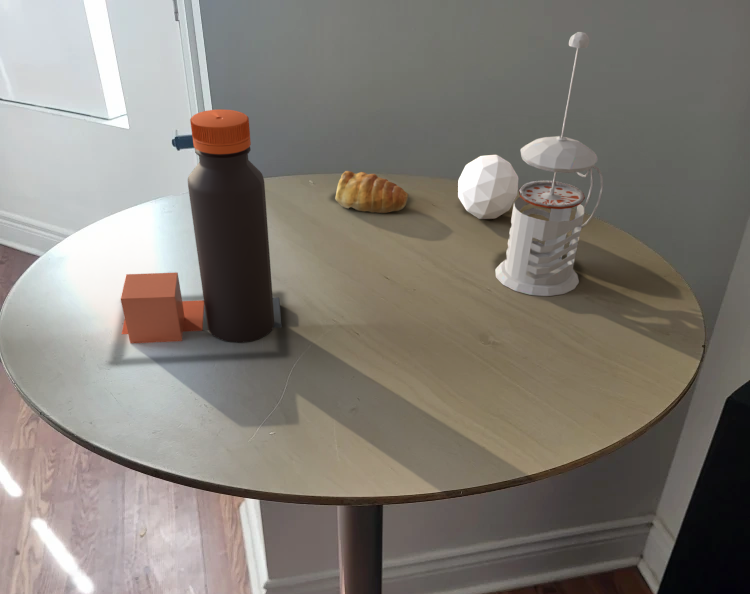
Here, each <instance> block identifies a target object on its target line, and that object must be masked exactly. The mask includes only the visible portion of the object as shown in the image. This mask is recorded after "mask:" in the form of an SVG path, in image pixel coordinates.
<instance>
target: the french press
mask: <svg viewBox="0 0 750 594" xmlns="http://www.w3.org/2000/svg"><path fill="white" fill-rule="evenodd" d="M589 45H590V37H589V36H588V34H587V33H586V32H583V31H577V32H575V33H574V34H572V35H571V36H570V38H569V41H568V46H569V47H571V48H576V51H575V56H574V62H573V69H572V72H571V79H570V84H569V90H568V95H567V96H568V97H567V102H566V107H565V112H564V118H563V124H562V129H561V134H560V135H557V136H544V137H540V138H536V139H534V140H533V141H531V142H529V143H528V144H525V145H524V146H522V147H521V148H520V156H521V159H522V161H524V162H525V163H526V164H527V165H528V166H531V167H533V168H536V169H538V170H543V171H547V172H551V173H554V175H553V180H549V179H548V180H545V179H544V180H536V181H535V180H534V181H530V182H526V183H523V185H521V187H519V188H518V194H519V197H518V198H516V199H515V200H514V202H513V205H512V213H511V219H510V223H511V226H510V227H509V237H508V240H507V248H506V253H505V256H506V257H505V259H504V260H503V261H501V262H500V264H499V265H498V266H497V267H496V268H495V271H494V272H495V278H496V279H497V280H498V281H499V283H501V285H503V286H504V287H507V288H509V289H511V290H513V291H514V292H517V293H522V294H525V295H530V296H542V297H553V296H558V295H564V294H567V293H569V292H572V291H573V290H575V289H576V287H577V286H578V284H579V283H580V280H579V275H578V273H577V272H576V271H575V269H574V265H575V260H576V254H577V250H578V247H579V246H578V245H579V241H580V237H581V232H582V229H583V228H584V227H585V226H586V225H588V223H589V222H590V221H591V220H592V219H593V217H594V216H595V214H596V212H597V210H598V208H599V206H600V203H601V201H602V195H603V191H604V178H603V173H602V171H601V170H600V168H599V167H598V166H596V163H598V161H599V159H598V156H597V153H596V152H595V151H593V149H591V148H590V147H588V146H587V145H585V144H584V143H583V142H581V141H579V140H577V139H573V138H571V137H566V136H564V133H565V128H566V123H567V117H568V112H569V106H570V102H571V101H570V100H571V96H572V90H573V85H574V78H575V73H576V68H577V62H578V57H579V52H580V49H586V48H588V47H589ZM593 169H595V170H596V172H597V173H598V174H599V175H598V176H599V179H600V191H599V195H598V198H597V202H596V205H595V207H594V208H593V211H592V213H591V215H590V216H589V217H588V218H587V220H586V221H585V222H584V223H583V221H584V217H585V212H586V210H585V209H586V208H587V206H588V203H589V201H590V199H591V196H592V193H593V187H594V173H593V172H594V171H593ZM585 171H586V173H585V174H583V173H582V172H585ZM557 173H561V174H563V173H564V174H571V173H572V174H573V173H576V174H577V176H579V177H582V178H587V177H588V175H589V173H590V187H589V190H588V195H587V198H586V196H585V193H584V192H583V191H582V190H581V189H580V188H578V187H577V186H575V185H572V184H569V183H567V182H565V183H564V182H563V181H562V182H561V181H558V180H557V181H556V179H557ZM585 199H586V201H585V203H584V205H582V203H583V202H584V200H585ZM528 205H532V206H535V207H531V208H528V209H526V210H523V211H521V210H522V209H523V208H524V207H525V206H528ZM537 207H539V208H537ZM575 207H576V211H575V216H574V218H573V219H571V216H572V215H571V214H572V210H573V208H575ZM541 208H544V209H541ZM545 209H549V210H550V212H549V211H547V210H545ZM530 215H538V216H542V217H544V218H545V219H548V220H544V219H540V218H535V217H532V216H530ZM569 232H571V235H569V236H567V235H568V233H569ZM534 239H536V240H534ZM537 240H538V241H537ZM542 242H544V243H542ZM568 243H569V244H568ZM567 244H568V246H567V247H566V248H565V245H567ZM565 255H566V257H565V258H563V256H565Z"/></svg>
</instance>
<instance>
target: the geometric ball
mask: <svg viewBox="0 0 750 594" xmlns="http://www.w3.org/2000/svg"><path fill="white" fill-rule="evenodd" d="M457 181H458V183H457V186H458V187H457V191H458V192H457V198H458V199H459V201H460V203H461V204H462V206H463V207H464V209H465V210H466V212H467V213H469V214H470V215H473V216H474V217H476V218H477V219H478V220H492V219H493V220H494V219H498V217H500V216H501V215H504V214H505V213H507V212H509V211H510V210H511V208H512V207H513V205H514V202H515V201H516V199H517V196H518V194H519V176H518V174H517V173H516V171H515V168H514V167H513V165H512V164H511V162H509V161H508V160H506V159H504V158H503V157H501V156H500V155H498V154H489V155H480V156H478V157H476V158H475V159H473V160H472V161H470V162H468V163H467V164H465V166H464V168H463V170H462V172H461V174H460V176H459V178H458V180H457Z"/></svg>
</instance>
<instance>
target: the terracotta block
mask: <svg viewBox="0 0 750 594" xmlns="http://www.w3.org/2000/svg"><path fill="white" fill-rule="evenodd" d="M179 278H180V277H179V272H155V273H154V272H151V273H127V274H125V277H124V283H123V287H122V291H121V296H120V303H121V307H122V312H123V316H124V320H125V321H126V326H127V331H128V334H127V335H128V339H129V343H130V344H149V343H150V344H151V343H152V344H153V343H171V342H172V343H174V342H175V343H177V342H183V335H184V332H183V330H184V319H185V316H184V309H183V303H182V301H183V296H182V290H181V285H180V279H179Z"/></svg>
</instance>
